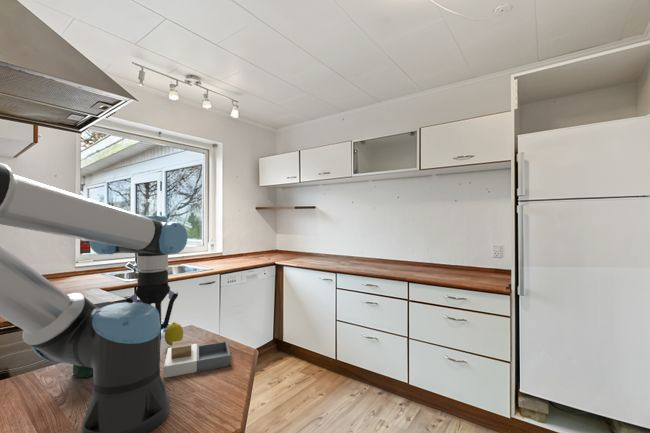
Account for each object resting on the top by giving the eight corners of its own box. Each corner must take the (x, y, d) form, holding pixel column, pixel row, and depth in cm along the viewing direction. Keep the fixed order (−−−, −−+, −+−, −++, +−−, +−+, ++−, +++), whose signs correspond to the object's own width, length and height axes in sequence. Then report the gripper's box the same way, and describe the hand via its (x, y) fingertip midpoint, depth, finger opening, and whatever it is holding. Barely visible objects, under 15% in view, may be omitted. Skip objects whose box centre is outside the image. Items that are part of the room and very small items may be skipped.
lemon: (162, 346, 101) (162, 322, 101) (180, 342, 104) (180, 318, 104) (167, 351, 96) (167, 326, 97) (185, 346, 100) (185, 322, 100)
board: (196, 371, 83) (196, 360, 83) (163, 378, 80) (163, 366, 80) (196, 353, 95) (196, 343, 95) (168, 357, 92) (168, 347, 92)
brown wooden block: (191, 355, 86) (190, 345, 86) (171, 359, 84) (171, 348, 85) (191, 349, 91) (191, 339, 91) (172, 352, 89) (172, 341, 89)
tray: (230, 365, 87) (230, 355, 87) (197, 371, 83) (197, 360, 83) (227, 350, 97) (227, 341, 97) (197, 355, 93) (197, 345, 94)
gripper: (179, 266, 91) (179, 345, 91) (128, 269, 86) (128, 353, 86) (178, 270, 84) (178, 355, 84) (122, 274, 79) (122, 364, 79)
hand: (153, 354), depth 85 cm, fingers closed
